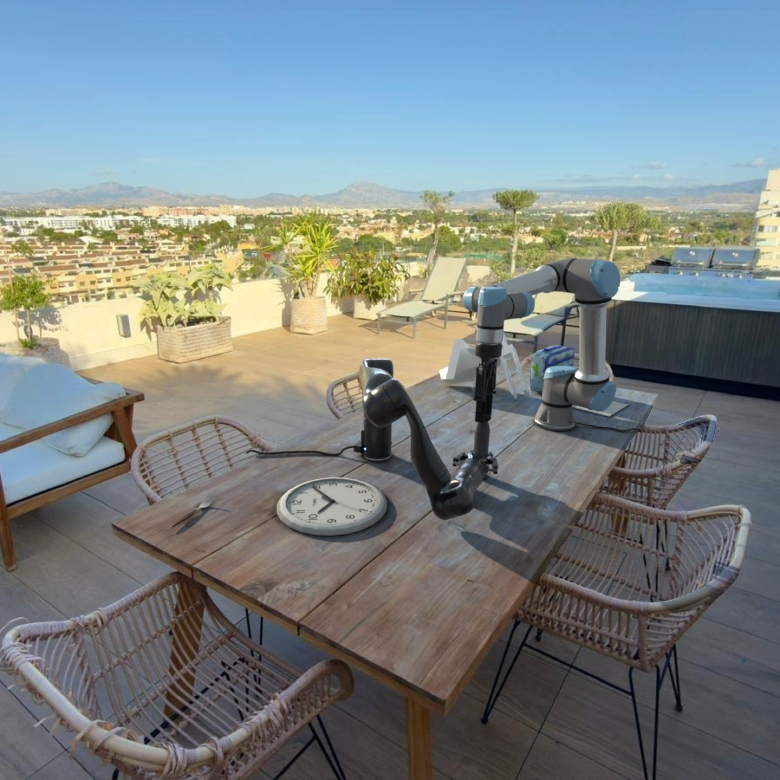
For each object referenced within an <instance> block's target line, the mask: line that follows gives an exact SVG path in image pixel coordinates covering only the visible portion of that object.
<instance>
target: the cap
mask: <svg viewBox="0 0 780 780" xmlns="http://www.w3.org/2000/svg"><path fill="white" fill-rule="evenodd" d="M491 420H492V415H491V412H489V411H486V410H485V421H488V422H490V421H491Z"/></svg>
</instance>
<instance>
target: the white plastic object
mask: <svg viewBox="0 0 780 780" xmlns="http://www.w3.org/2000/svg"><path fill="white" fill-rule="evenodd" d="M501 344H502V354H501V356H500V357H499V358H495V359H498V362H497V368H499V367H500V366H502V370H503V373H504V376H505V380H506V383H507V386H508V390H509V393H510V394H511V395H512V397H513V398H514V399H515V400H517V392H516V391H517V390H516V388H515V385H514V381H513V378H512V375H511V371H510V369H509V365H508V361H510V360H513V363H514V366H515V369H516V372H517V376H518V380H519V382H520V385H521V389H522V391H523V393H524V395H525V396H526V397H528V396H531V395H530V389H529V388H528V387H529V386H528V384H527V381H526V378H525V375H524V371H523V369H522V368H523V367H522V366H521V362H520V359H519V355H518V352H517V349H516V347H515V346H514V345H513V343H511V344H508V341H507V337H506V334H505V331H503V342H501ZM480 362H481V358H480V357H478V356H476V355H475V345H473V346H469V345H468V343H466V342H465V340H464V339H463V338H460V339H458V338H454V340H453V344H452V349H451V353H450V357H449V362H448V366H446V367H444V368H442V369H440V370H439V371H438V372H439V376H440V381H442V383H443V384H444V385H445V386H449V385H458V384H467V383H468V384H469V383H473V384H476V368H477V367H479V363H480Z"/></svg>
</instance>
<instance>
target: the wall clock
mask: <svg viewBox="0 0 780 780" xmlns="http://www.w3.org/2000/svg"><path fill="white" fill-rule="evenodd" d="M387 509H388V500H387V498H386V496H385V494H384V493H383V492H382V491H381V490H380V489H379V488H377V487H376V486H374V485H372V484H371V483H369V482H365V481H362V480H359V479H355V478H349V477H338V476H337V477H335V476H333V477H332V476H331V477H322V478H317V479H312V480H307V481H305V482H302V483H299V484H297V485H295V486H293V487H292V488H290V489H288V490H287V491H286V492H285V493H284V494H283V495H281V496H280V498H279V499H278V502H277V503H276V515H277V517H278V518H279V520H280V521H281V522H282V523H283V524H285V525H286V526H287V527H288V528H290V529H293V530H295V531H297V532H299V533H303V534H308V535H312V536H327V537H328V536H329V537H331V536H332V537H333V536H342V535H350V534H352V533H356V532H361V531H363V530H366V529H368V528H369V527H372V526H373V525H375V524H376V523H378V522H379V521H380V520H381V519H382V518H383V517H384V516H385V514H386V512H387Z"/></svg>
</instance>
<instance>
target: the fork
mask: <svg viewBox="0 0 780 780" xmlns="http://www.w3.org/2000/svg"><path fill="white" fill-rule="evenodd" d="M216 495H217V494H212V493H208V494H207V495H206V497H205V498H204V499H203V501H202V502H201V503H200V505H198V507H197V508H196V509H193V510H192V511H190V512H188V513H187V514H185V515H183V517H181V518H180V519H179V520H178V521H176V522H175V523H174V524H173V525H172V526H171V529H173V528H175V527H176V526H178V525H179V524H181V523H183V522H184V521H186V520H188V519H189V518H191V517H192V516H193V515H194V514H195V513H197V511H198V510H200V509H207V508H208V507H210V505H211V504H212V502H213V501H214V499H215V497H216Z"/></svg>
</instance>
